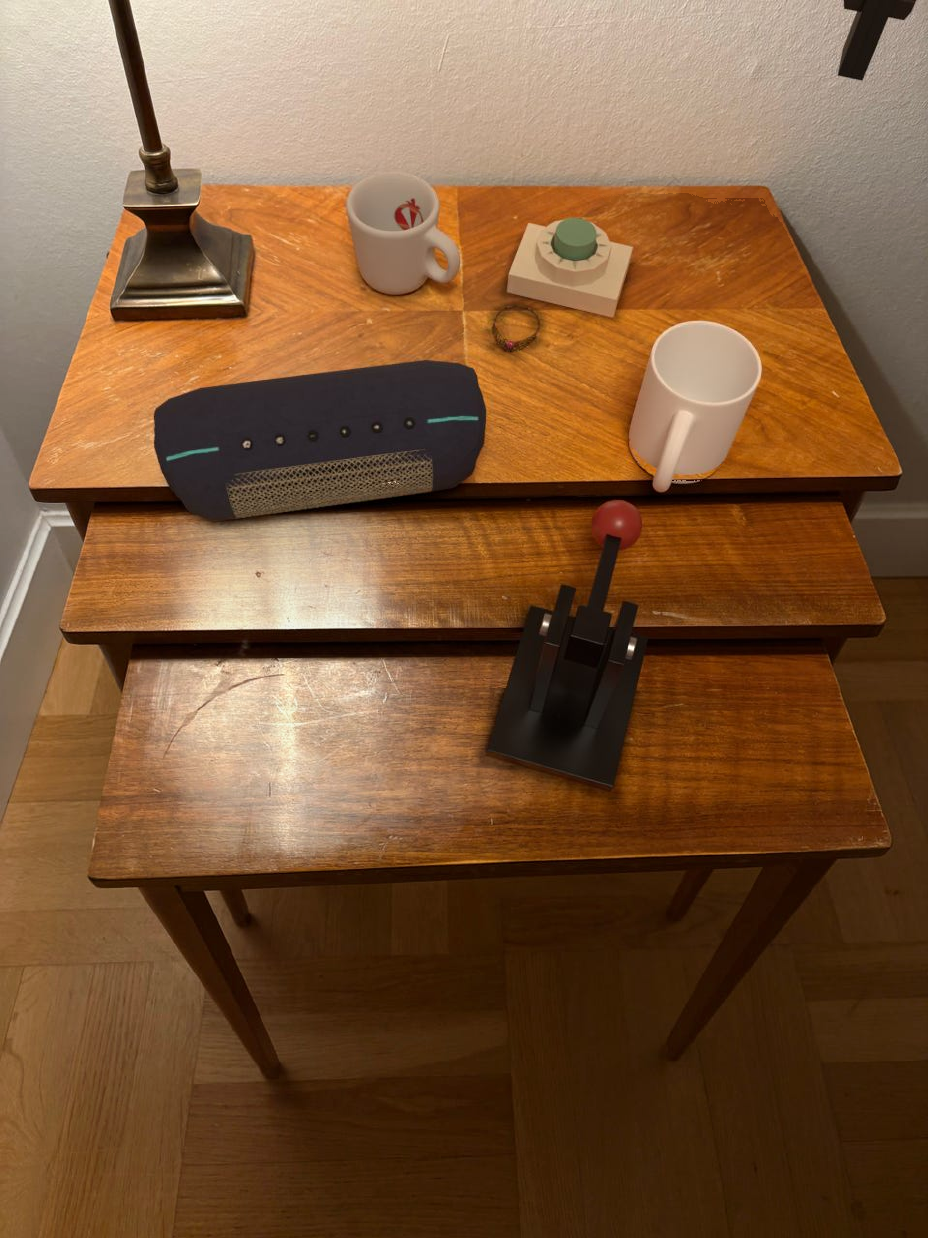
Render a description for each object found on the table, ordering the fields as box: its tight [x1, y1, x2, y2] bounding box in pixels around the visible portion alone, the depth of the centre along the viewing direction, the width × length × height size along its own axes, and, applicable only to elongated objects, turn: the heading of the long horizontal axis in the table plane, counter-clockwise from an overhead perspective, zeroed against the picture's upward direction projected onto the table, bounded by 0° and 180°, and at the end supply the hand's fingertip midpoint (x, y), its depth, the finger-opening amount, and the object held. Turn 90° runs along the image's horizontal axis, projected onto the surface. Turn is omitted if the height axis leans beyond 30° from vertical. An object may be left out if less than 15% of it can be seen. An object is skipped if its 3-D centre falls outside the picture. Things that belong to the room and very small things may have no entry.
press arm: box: [564, 499, 643, 668], centre depth 66 cm, size 14×4×4 cm, turn 163°
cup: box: [345, 171, 461, 296], centre depth 86 cm, size 11×8×8 cm
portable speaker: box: [153, 359, 487, 522], centre depth 75 cm, size 25×10×10 cm, turn 101°
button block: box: [506, 219, 634, 319], centre depth 89 cm, size 10×7×4 cm
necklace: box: [491, 304, 541, 353], centre depth 87 cm, size 4×6×1 cm, turn 166°
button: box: [554, 217, 597, 262], centre depth 87 cm, size 4×4×2 cm
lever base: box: [485, 583, 649, 793], centre depth 66 cm, size 12×9×12 cm
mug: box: [628, 320, 763, 493], centre depth 76 cm, size 12×8×10 cm
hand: (852, 64), depth 59 cm, fingers closed
